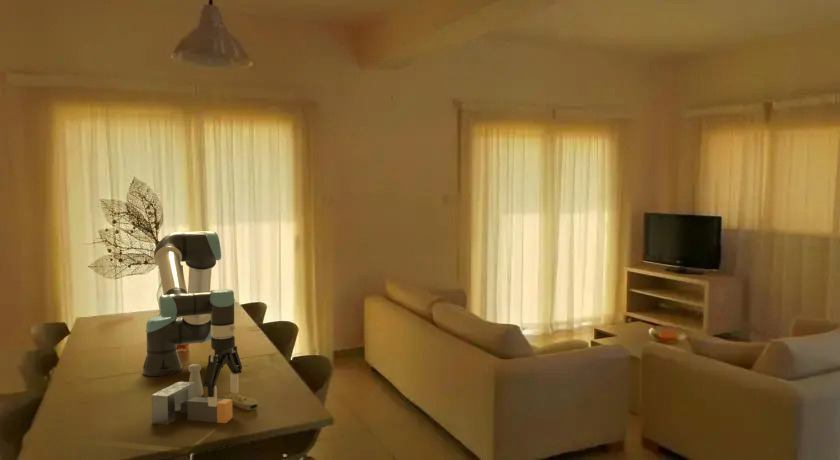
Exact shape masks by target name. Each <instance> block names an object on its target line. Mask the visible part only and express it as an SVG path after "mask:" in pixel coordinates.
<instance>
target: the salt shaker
mask: <svg viewBox="0 0 840 460" xmlns="http://www.w3.org/2000/svg"><path fill="white" fill-rule="evenodd" d="M201 370H202V366H201V365H200V364H199V363H193V364H190V365H188V372H189V373H190V374H189V380H188V382H193V383H194V393H195V397H204V393H205V392H204V388H203V387H204V386H203V383H202V377H201V373H200V372H201Z"/></svg>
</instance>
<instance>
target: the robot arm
mask: <svg viewBox="0 0 840 460" xmlns="http://www.w3.org/2000/svg"><path fill="white" fill-rule="evenodd" d="M219 238H220V237H219V234H218V233H217V232H215V231H207V230H204V231H177V232H176V231H175V232H172V233H169V234H167V235H166V236H164V237H163V238H161V239H160V241H158V242H157V244H156V246H155V248H154V252H153V259H154V262H155V264H156V265H157V266H158V269H159V274H160V276H159V277H160V281H161V289H162V292H163V295H161V296H159V298H158V310H159V315H156V316H154V317H151V318H149V319H148V320H147V321H146V324H145V325H146V329H145V333H146V355H145V356H146V357H145V360H144V361H143V362H144V364H143V366H142V375H144V376H147V377H148V376H149V377H163V376H169V375H174V374H176V373H178V372H180V371H181V370H182V368H183V366H182V365H183V364H182V362H181V359H180V355H179V353H178V346H179V345H191V344H193V345H194V344H199V343H200V344H202V343H207V342H210V348H211V349H212V350H213V351H214V353H213V355H212V354H209V356H208V358H207V359H208V361H207V367H206V370H205V371H206V372H205V375H204V380H203V383H202V387H204V388H205V387H207V398H208V406H214V407H216V406H217V398H218V387H217V385H216V384H217V381H218V378H219V375H220V372H221V370H222V368H224V366H225V365H226V366H227V367H228V368H229V370H230V372H231V373H230V374H229V390H230V393H237V394H238V393H239V392H240V391H239V374H241V373H242V370H243V366H242V362H241V359H240V356H239V353H238V347H237V345H236V339H235V338H236V337H235V336H234V335H235V329H236V327H235V301H236V299H235V291H234V290H233V289H228V288H219V289H211V284H212V283H211V282H212V281H211V279H212V269H213V268H214V267H215V266H216V265H217V261H219V260H221V258H222V251H221V250H222V248H221V243H220V239H219ZM181 262H182V263H184V262H185V265H186V266H187V267H188V268H189V269H188V281H187V286H186V281H185V277H184V273H183V268H182V264H181Z"/></svg>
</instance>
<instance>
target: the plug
mask: <svg viewBox="0 0 840 460" xmlns="http://www.w3.org/2000/svg"><path fill="white" fill-rule="evenodd" d="M180 413H182V414H187V421H195V422H206V423H217V424H218V423H219V424H220V423H221V424H226V423H228V422H229V421H231V420H232V419H233V399H231V398H221V397H220V398H218V397H217V406H216V407H214V406H208V396H207V397H204V396H202V397H193V398H192V399H190V400H188V401H185V402H183V403H181V412H180Z"/></svg>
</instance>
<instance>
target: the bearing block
mask: <svg viewBox="0 0 840 460" xmlns="http://www.w3.org/2000/svg"><path fill="white" fill-rule="evenodd" d="M150 395H151V424H157V425H166V426H167V425H168V426H169V425H170V424H172V423H173V422H175V421H176V412H179V411H180V413H181V403H183V402H185V401H188V400H190V399H192V398H193V397H195V393H194V383H193V382H189V381H177V382H175V383H172V384H171V385H170V386H167V387H164V388H162V389H161V390H158V391H157V392H155V393H153V394H150Z"/></svg>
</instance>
